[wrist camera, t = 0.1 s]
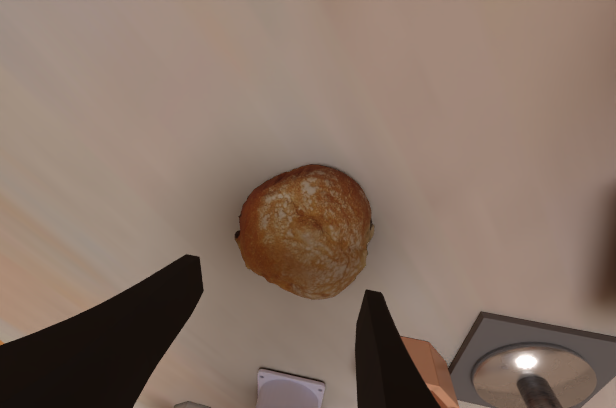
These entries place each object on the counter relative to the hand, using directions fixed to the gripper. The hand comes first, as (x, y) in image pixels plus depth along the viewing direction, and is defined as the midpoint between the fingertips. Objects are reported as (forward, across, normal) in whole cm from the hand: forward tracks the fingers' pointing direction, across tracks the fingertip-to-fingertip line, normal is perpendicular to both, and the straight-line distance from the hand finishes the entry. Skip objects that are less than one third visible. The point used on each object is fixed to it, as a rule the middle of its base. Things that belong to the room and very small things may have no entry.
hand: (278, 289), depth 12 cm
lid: (+10, -21, +15) cm, 28 cm away
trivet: (+10, -21, +15) cm, 28 cm away
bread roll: (+10, 0, +3) cm, 11 cm away
